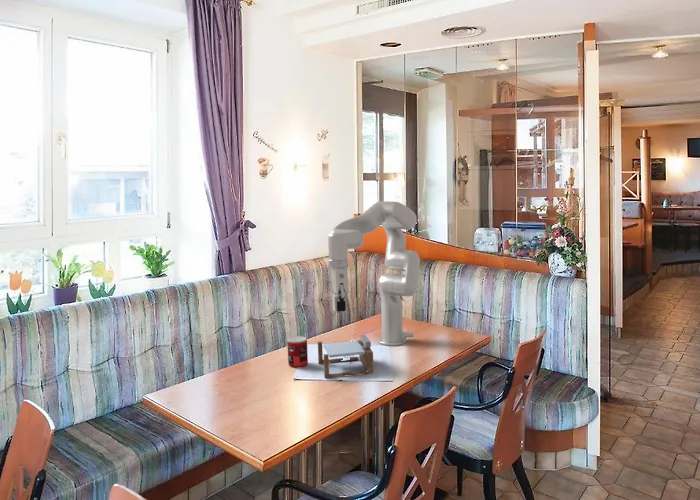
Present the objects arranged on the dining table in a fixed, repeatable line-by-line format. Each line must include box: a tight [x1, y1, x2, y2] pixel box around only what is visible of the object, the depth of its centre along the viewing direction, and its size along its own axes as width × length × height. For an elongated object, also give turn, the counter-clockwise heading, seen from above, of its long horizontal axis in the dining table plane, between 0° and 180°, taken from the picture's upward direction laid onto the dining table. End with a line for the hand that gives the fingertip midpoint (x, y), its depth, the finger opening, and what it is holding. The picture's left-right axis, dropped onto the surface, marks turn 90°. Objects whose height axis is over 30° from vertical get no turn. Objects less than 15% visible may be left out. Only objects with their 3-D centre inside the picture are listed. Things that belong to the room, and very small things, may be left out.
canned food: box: [286, 335, 309, 369], centre depth 237 cm, size 8×8×11 cm
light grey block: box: [331, 293, 349, 313], centre depth 228 cm, size 5×5×6 cm
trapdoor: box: [323, 334, 372, 359], centre depth 231 cm, size 17×14×4 cm
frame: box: [317, 341, 374, 379], centre depth 231 cm, size 19×18×9 cm
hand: (340, 308), depth 228 cm, fingers closed on light grey block, 5 cm apart
